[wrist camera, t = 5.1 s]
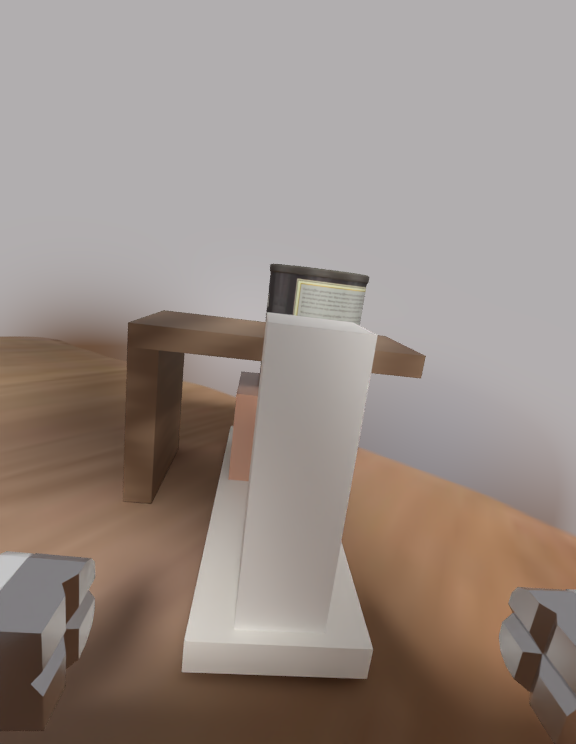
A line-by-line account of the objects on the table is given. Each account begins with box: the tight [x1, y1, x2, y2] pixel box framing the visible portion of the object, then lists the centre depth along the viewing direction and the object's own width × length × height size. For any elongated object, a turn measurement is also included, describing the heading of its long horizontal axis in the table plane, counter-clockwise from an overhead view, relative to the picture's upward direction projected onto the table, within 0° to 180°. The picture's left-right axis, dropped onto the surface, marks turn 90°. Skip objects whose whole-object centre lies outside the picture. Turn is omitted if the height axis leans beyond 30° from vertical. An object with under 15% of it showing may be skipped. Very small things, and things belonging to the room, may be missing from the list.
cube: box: [228, 372, 260, 481], centre depth 24 cm, size 5×5×5 cm
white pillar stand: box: [182, 312, 378, 679], centre depth 20 cm, size 6×18×11 cm, turn 3°
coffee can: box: [260, 264, 369, 372], centre depth 42 cm, size 10×10×14 cm
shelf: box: [123, 310, 426, 503], centre depth 24 cm, size 15×7×10 cm, turn 93°
